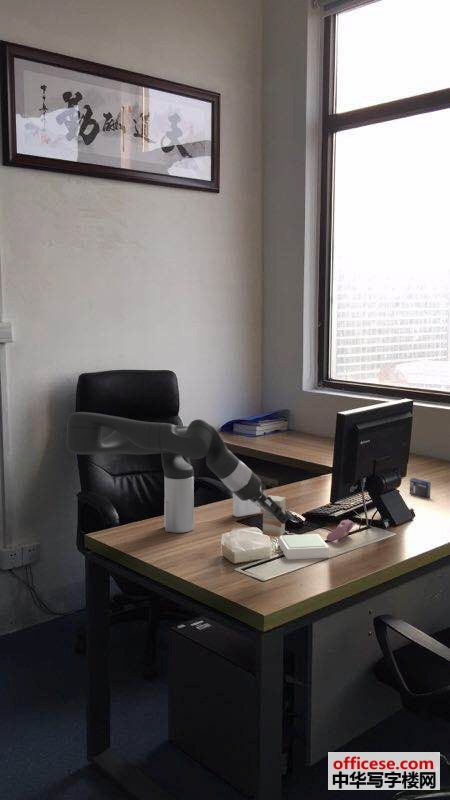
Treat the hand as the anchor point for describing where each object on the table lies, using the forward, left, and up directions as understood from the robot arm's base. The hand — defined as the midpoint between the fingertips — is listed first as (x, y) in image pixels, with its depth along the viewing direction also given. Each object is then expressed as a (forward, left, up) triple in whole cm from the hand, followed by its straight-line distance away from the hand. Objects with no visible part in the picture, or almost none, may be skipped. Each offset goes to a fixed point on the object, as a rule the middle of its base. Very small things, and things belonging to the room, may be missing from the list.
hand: (279, 517), depth 196 cm
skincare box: (-2, 0, -5) cm, 5 cm away
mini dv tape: (+67, +65, -14) cm, 95 cm away
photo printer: (-1, +50, -14) cm, 52 cm away
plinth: (+9, +11, -14) cm, 20 cm away
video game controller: (+24, +21, -14) cm, 35 cm away
